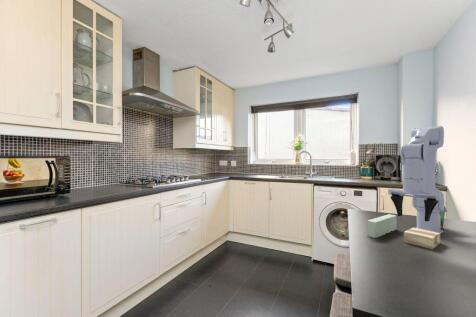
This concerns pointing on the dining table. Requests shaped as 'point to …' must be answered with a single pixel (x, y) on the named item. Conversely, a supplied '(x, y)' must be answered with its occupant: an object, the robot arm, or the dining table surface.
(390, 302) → the dining table surface
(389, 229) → the sage board
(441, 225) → the food container
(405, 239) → the maple block
